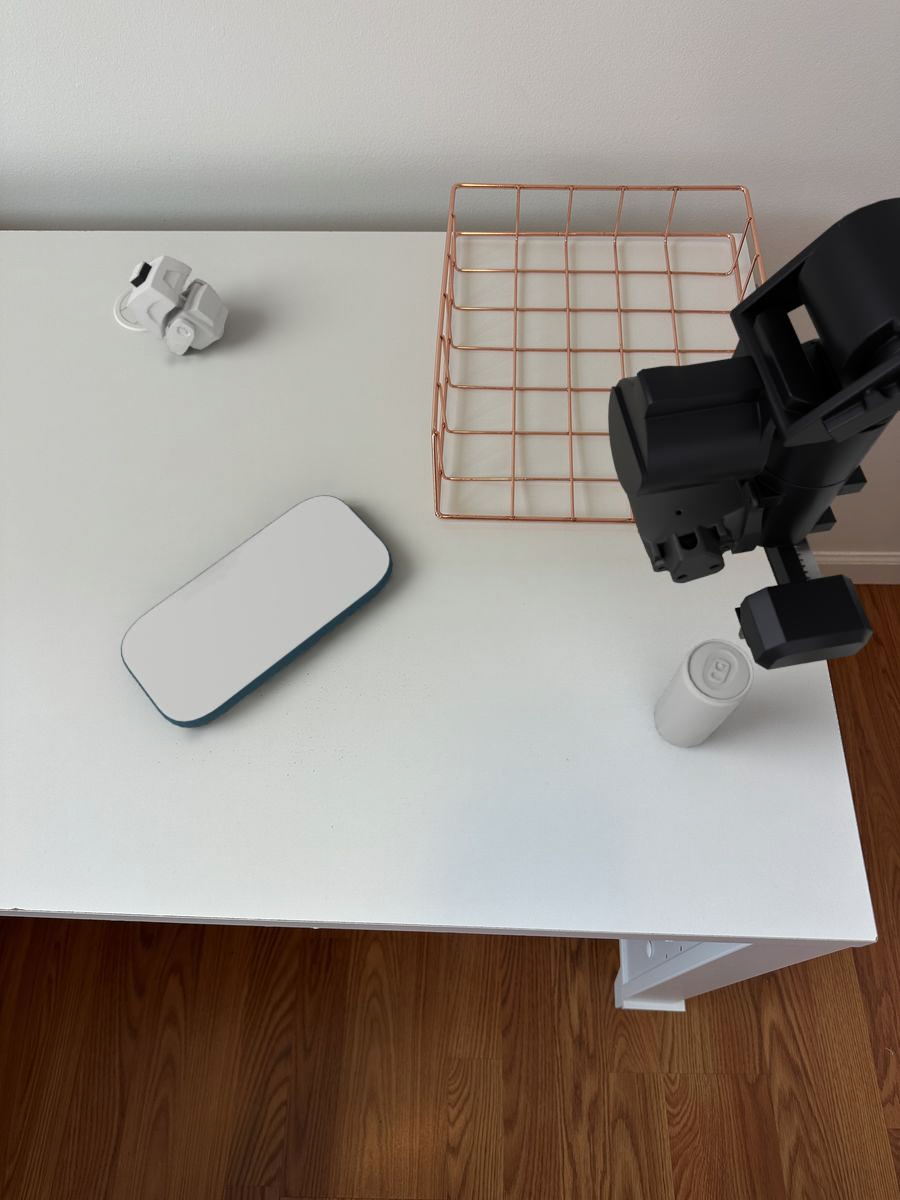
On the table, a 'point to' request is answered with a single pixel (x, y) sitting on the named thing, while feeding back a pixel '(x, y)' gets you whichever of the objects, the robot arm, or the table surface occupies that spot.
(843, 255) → the robot arm
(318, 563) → the external hard drive
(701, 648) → the beverage can
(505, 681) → the table surface
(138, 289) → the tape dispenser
